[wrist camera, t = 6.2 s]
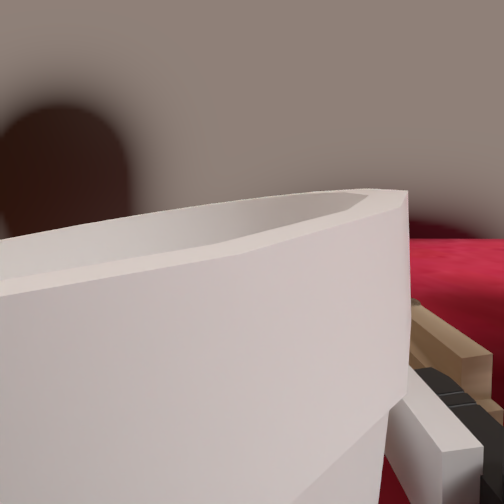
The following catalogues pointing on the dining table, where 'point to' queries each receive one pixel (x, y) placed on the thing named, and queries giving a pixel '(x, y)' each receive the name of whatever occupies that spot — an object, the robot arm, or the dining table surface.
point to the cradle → (452, 356)
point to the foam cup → (206, 353)
